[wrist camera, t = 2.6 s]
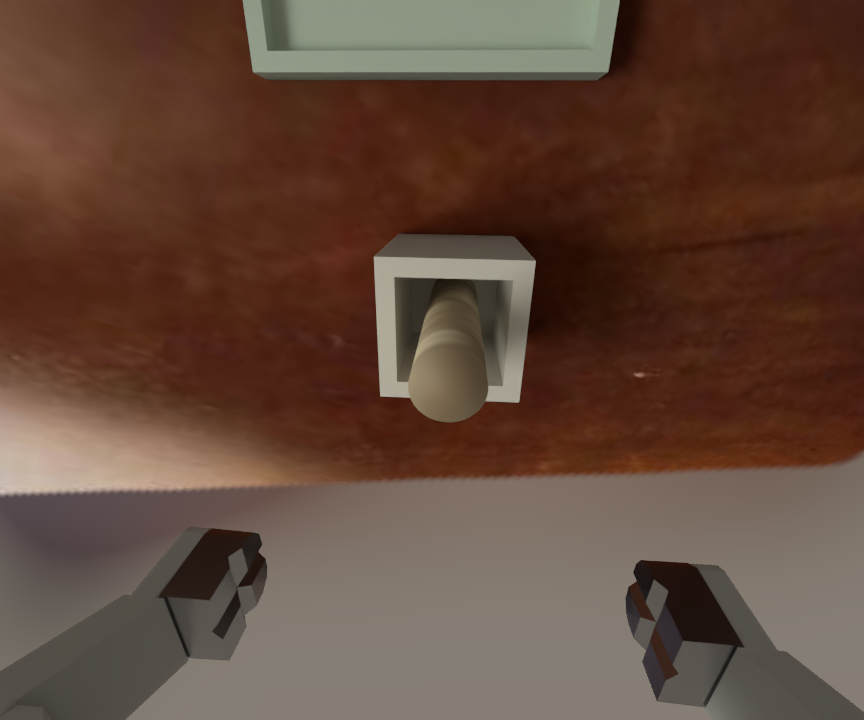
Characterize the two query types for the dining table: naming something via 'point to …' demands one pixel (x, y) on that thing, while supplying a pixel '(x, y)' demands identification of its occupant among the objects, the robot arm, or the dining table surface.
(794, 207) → the dining table surface
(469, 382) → the dowel
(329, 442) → the dining table surface
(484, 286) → the cup
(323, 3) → the tray
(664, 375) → the dining table surface
